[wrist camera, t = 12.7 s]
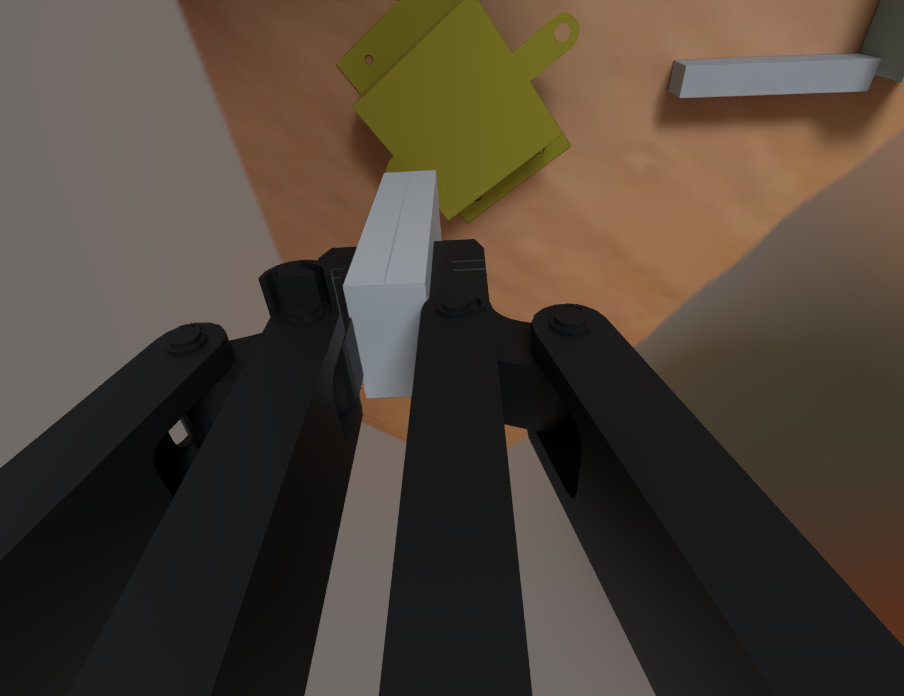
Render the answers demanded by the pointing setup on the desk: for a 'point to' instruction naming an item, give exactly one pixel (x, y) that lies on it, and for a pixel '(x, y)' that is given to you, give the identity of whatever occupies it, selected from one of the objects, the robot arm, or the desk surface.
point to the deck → (801, 66)
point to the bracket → (457, 98)
